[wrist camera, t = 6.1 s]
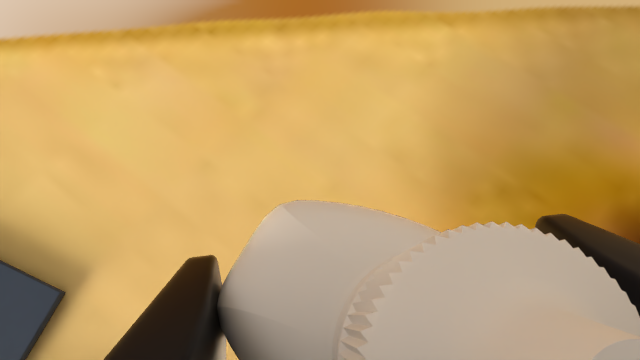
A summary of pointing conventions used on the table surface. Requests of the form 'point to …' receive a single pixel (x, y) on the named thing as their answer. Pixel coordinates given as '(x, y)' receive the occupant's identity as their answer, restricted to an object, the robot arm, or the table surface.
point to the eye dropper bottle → (417, 292)
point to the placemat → (23, 311)
